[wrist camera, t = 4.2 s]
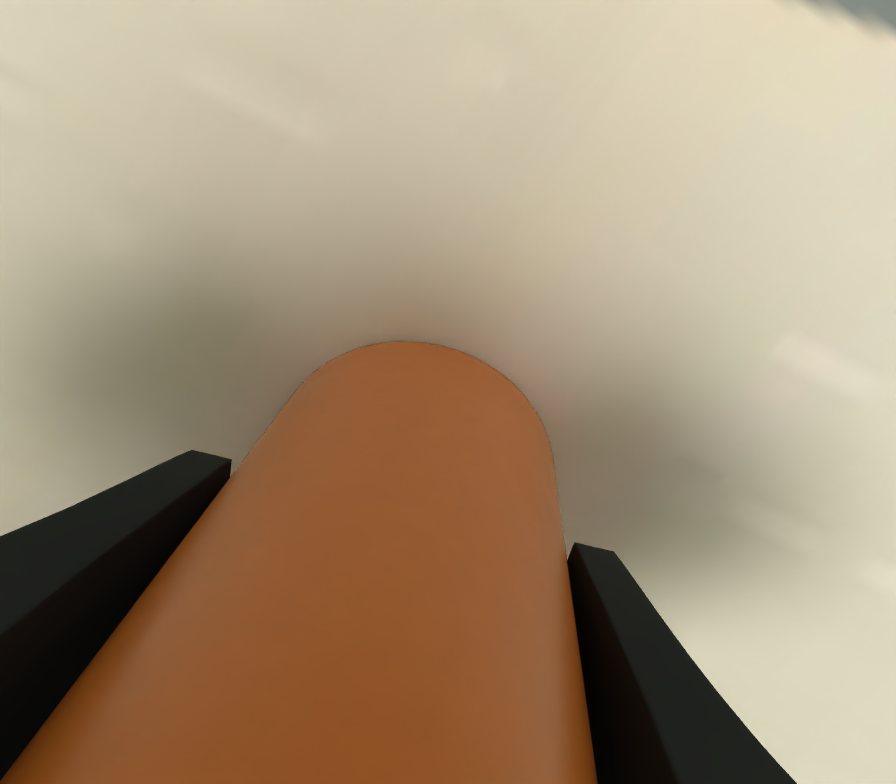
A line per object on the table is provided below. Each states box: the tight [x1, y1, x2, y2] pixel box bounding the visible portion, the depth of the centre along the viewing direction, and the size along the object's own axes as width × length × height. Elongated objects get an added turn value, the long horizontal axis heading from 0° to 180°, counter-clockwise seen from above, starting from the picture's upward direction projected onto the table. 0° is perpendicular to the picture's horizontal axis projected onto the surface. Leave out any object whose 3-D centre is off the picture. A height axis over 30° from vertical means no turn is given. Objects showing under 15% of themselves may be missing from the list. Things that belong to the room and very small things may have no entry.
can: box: [0, 342, 598, 784], centre depth 8 cm, size 5×5×8 cm
